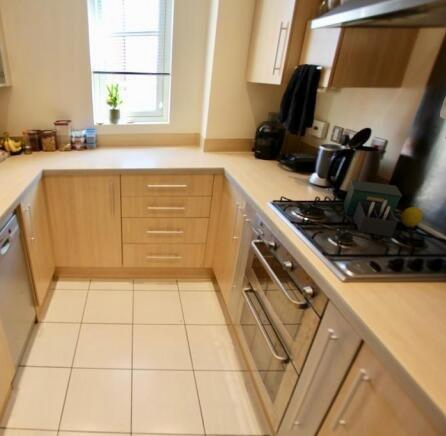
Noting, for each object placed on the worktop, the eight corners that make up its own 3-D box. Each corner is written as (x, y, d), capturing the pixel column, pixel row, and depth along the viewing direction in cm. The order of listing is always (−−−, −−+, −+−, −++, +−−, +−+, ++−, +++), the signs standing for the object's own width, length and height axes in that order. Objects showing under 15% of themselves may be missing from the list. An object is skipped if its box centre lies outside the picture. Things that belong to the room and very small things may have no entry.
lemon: (402, 222, 117) (411, 202, 113) (420, 228, 112) (430, 208, 109) (393, 225, 115) (402, 205, 111) (410, 232, 110) (420, 211, 107)
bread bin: (385, 210, 125) (396, 185, 120) (391, 222, 117) (402, 196, 112) (342, 204, 131) (351, 180, 126) (345, 214, 123) (354, 189, 118)
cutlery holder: (381, 222, 117) (392, 197, 112) (389, 240, 106) (401, 213, 101) (352, 217, 121) (362, 192, 116) (357, 234, 110) (367, 208, 105)
